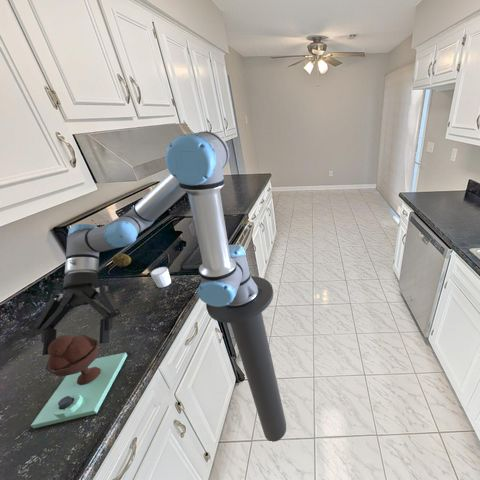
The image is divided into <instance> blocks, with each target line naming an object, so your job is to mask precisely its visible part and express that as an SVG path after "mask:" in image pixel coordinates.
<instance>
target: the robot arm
mask: <svg viewBox="0 0 480 480" xmlns="http://www.w3.org/2000/svg"><path fill="white" fill-rule="evenodd" d="M229 149H230V148H229V146H228V144H227V142H226V141H225V140H224V139H223V138H222V137H221V136H220V135H219V134H217V133H214V132H212V131H205V130H204V131H198V132H194V133H193V132H192V133H186V134H182V135H181V136H178V137H177V138H175V139H174V140H172V141H171V142H170V143H169V144H168V146H167V148H166V151H165V156H164V157H165V165H166V168H167V170H168V172H169V173H167V175H166V176H165V177H164V178H162V180H160V181H159V182H158V184H156V185H155V186H154V187H153V188H152V189H150V191H148V193H147V194H146V195H145V196H143V197H142V198H141V199H140V200H139V201H138V202H136V204H135V205H133V207H132V208H131V209H129V210H128V212H126V213H124V214H122V215H121V216H119V217H117V218H115V219H114V220H112V221H110V222H109V223H107V224H105V225H101V226H97V225H94V224H91V223H81V224H80V223H76V224H72V225H71V226H69V228H68V233H67V236H66V252H65V264H64V265H65V266H64V276H63V284H62V285H63V289H64V291H63V293H51V294H50V296H49V301H48V303H47V304H46V306H45V308H44V309H43V310H42V313H41V315H40V316H39V318H38V319H37V321H36V322H35V324H34V326H33V330H37V331H38V330H39V331H41V340H40V341H41V344H42V343H43V347H42V356H48V355H49V353H48V347H49V345H50V344H51V342H52V341H53V340H55V339H56V338H57V333H58V332H57V330H58V329H57V328H55V327H57V325H58V324H59V323H60V322H61V320H62V319H63V318H64V317H65V316H66V315H67V314H68V312H69V311H70V310H72V309H73V308H74V307H80V306H87V305H90V306H91V307H92V308H93V309H94V310H95V312H97V313H98V314H99V315H101V317H102V318H101V319H100V320H99V322H100V323H99V341H98V344H107V343H110V330H113V323H114V317H116V316H119V315H121V310H120V308H119V307H118V305H117V303H116V302H115V300H114V298H113V296H112V295H111V293H110V287H109V286H107V285H99V286H98V284H99V271H100V270H99V267H100V253H104V252H107V251H110V250H114V249H115V250H116V249H119V248H124V247H126V246H130V245H132V244H134V243H135V242H136V241H137V238H138V235H139V234H140V233H142V232H143V231H144V230H146V229H147V228H149V227H150V226H152V225H153V224H154V222H155V221H156V220H157V219H158V218H159V217H160V216H161V215H163V214H164V213H165V212H166V211H167V210H168V209H169V208H171V207H172V206H173V205H174V204H175V203H176V202H177V201H178V200H180V199H181V198H182V197H183V196H184V195H185V194H187V198H188V202H189V207H190V210H191V211H190V212H191V215H192V216H191V217H192V220H193V226H194V230H195V235H196V238H197V243H198V249H199V252H200V253H199V254H200V257H201V261H202V263H201V264H200V266H199V267H198V272H199V277H200V284H199V285H198V287H197V296H198V298H199V299H200V301H202V302H203V303H204V304H206V303H207V304H208V305H211V306H216V307H221V306H227V307H231V308H237V307H242V306H245V305H247V304H249V303H251V302H252V301H254V300H255V299H256V297H257V296H258V290H260V291H262V289H260V288H258V287H257V285H256V283H255V282H254V281H253V279H252V278H251V276H252V275H251V273H250V268H249V264H248V259H247V252H246V250H245V248H244V246H243V245H240V244H229V240H228V234H227V228H226V221H225V216H224V210H223V203H222V202H223V201H222V196H221V189H222V188H223V187H224V186H225V179H224V171H223V169H224V168H225V167H226V166H227V165H228V162H229V159H230V150H229ZM97 294H99V295H100V297H101V299H102V301H103V302H104V304H105V305H104V304H102V303H101V302H100V300H99V299H98V298H97V297H96V296H97ZM49 356H50V355H49Z"/></svg>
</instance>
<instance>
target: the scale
mask: <svg viewBox="0 0 480 480" xmlns="http://www.w3.org/2000/svg"><path fill="white" fill-rule="evenodd" d="M127 357H128V354H127V351H126V352H121V353H116V354H111V355H106V356H101V357H96V358H95V360H94V361H93V362H92V363H91V364H90V365H89V366H88V368H92V367H98V368H100V369H101V371H100V374H99V375H98V376H97V378H96V379H94V380H93V381H91V382H90V383H88V384H84V385H79V384H77V379H78V377H79V376H80V375H81V374H82V373H81V372H79V373H76V374H72V375H68V376H64V378H63V379H62V381H61V383H60V384H59V385H58V387H57V388H56V389H55V391H54V392H53V394H52V395H51V397H50V398H49V399H48V401H47V402H46V403H45V405H44V406H43V407H42V409H41V410H40V412H39V413H38V415H37V416H36V418H35V419H34V420H33V421H32V423H31V424H30V427H31V428H33V429H38V428H42V427H46V426H50V425H51V426H52V425H55V424H58V423H59V424H60V423H63V422H67V421H71V420H76V419H79V418H83V417H88V416H92V415H97V414H98V412H99V410H100V408H101V406H102V405H103V403H104V401H105V399H106V397H107V394H108V393H109V392H110V389H111V387H112V385H113V383H114V382H115V380H116V378H117V376H118V374H119V372H120V370H121V369H122V367H123V365H124V363H125V361H126V359H127ZM66 396H70V397H71V398H72V399H73V403H72V404H71V405H70V406H69V407H67V408H65V409H61V408H60V407H59V405H58V402H59V401H60V400H61V399H62V398H64V397H66Z"/></svg>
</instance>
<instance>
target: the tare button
mask: <svg viewBox="0 0 480 480" xmlns="http://www.w3.org/2000/svg"><path fill="white" fill-rule="evenodd" d="M72 403H73V399H72V398H71V397H70V396H66V397H64V398H62V399H61V400H60V401H59V402H58V405H59V407H60V408H61V409H65V408H67V407H69V406H70V405H71V404H72Z"/></svg>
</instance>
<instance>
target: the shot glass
mask: <svg viewBox="0 0 480 480" xmlns="http://www.w3.org/2000/svg"><path fill="white" fill-rule="evenodd" d="M149 275H150V276H151V278H152V279H153V281H154V283H155V285H156V287H158V288H161V289H162V288H165V287H168V286H170V284H172V279H171V275H170V272H169V268H168V267H166V266H161V267H160V266H159V267H156V268H154V269H153V270H151V271H150V274H149Z"/></svg>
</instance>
